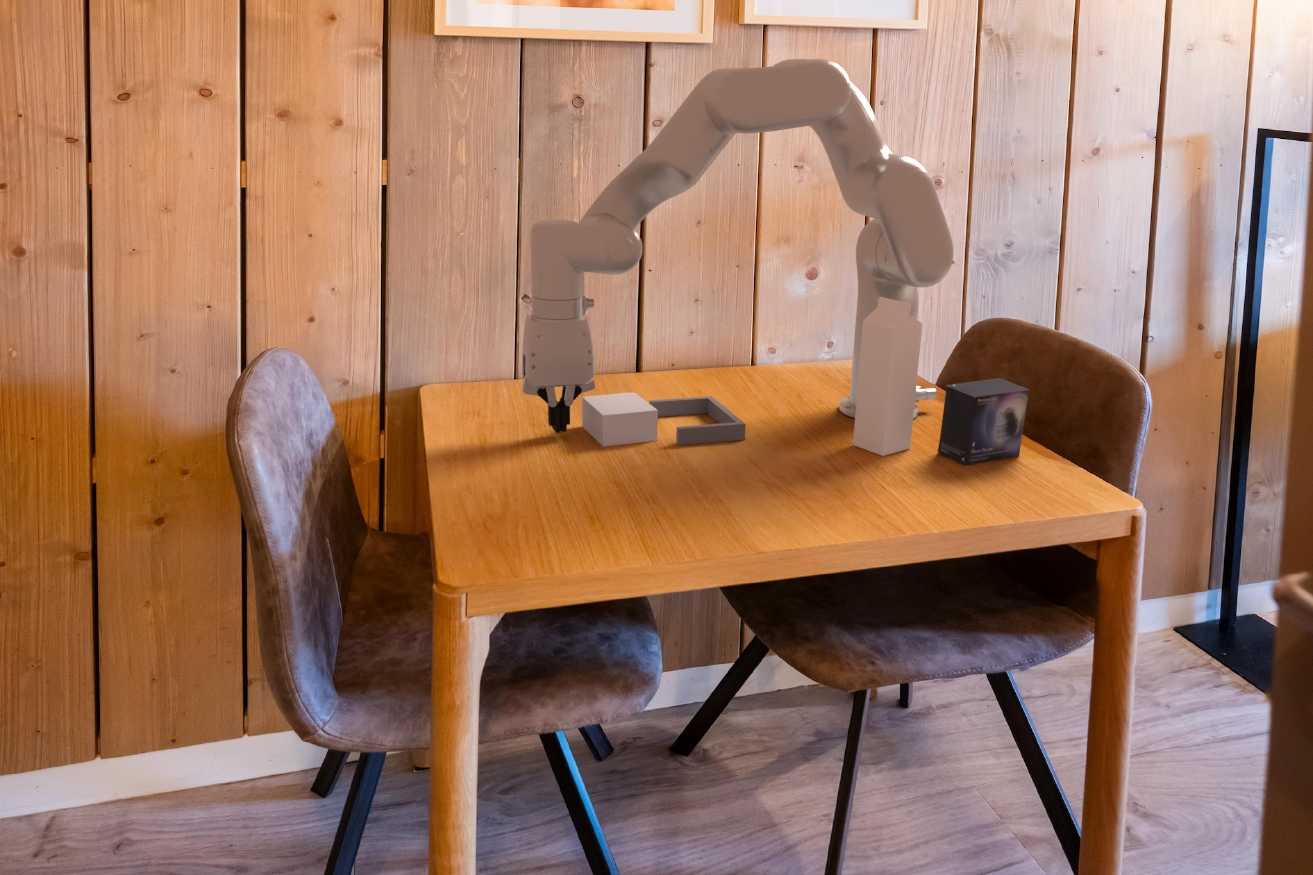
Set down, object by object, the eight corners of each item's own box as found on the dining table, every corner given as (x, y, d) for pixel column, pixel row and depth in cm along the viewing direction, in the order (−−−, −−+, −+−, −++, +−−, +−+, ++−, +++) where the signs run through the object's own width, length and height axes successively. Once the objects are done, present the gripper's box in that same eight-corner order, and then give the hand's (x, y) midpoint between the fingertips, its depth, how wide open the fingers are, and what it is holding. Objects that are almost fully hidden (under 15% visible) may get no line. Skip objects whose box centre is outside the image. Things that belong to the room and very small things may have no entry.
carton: (633, 422, 168) (634, 392, 167) (657, 442, 159) (657, 410, 158) (582, 427, 165) (582, 396, 164) (603, 448, 156) (603, 415, 155)
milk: (882, 456, 154) (896, 306, 147) (852, 445, 159) (863, 298, 152) (911, 448, 158) (925, 301, 151) (879, 437, 162) (892, 294, 155)
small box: (967, 467, 151) (975, 396, 147) (935, 453, 156) (943, 384, 153) (1022, 457, 155) (1031, 387, 152) (989, 443, 161) (998, 376, 158)
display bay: (711, 410, 174) (711, 396, 173) (744, 439, 160) (745, 423, 160) (649, 415, 171) (649, 400, 170) (678, 445, 157) (678, 428, 157)
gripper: (602, 301, 159) (601, 419, 165) (501, 305, 155) (504, 425, 161) (615, 311, 152) (614, 433, 158) (510, 315, 148) (513, 441, 154)
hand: (559, 429), depth 159 cm, fingers closed
